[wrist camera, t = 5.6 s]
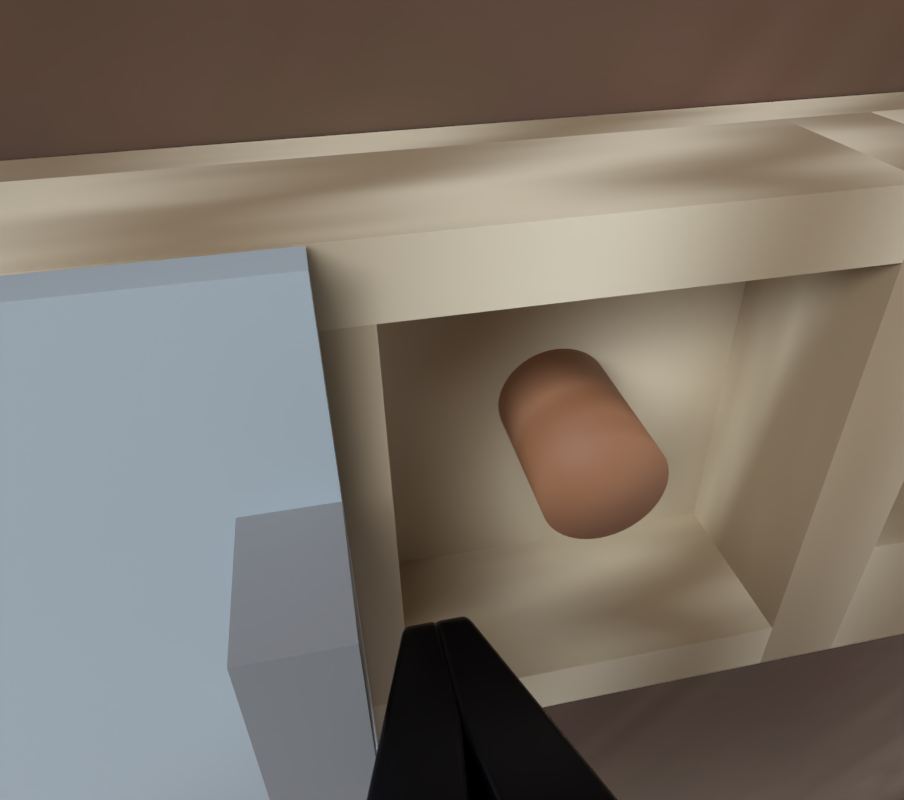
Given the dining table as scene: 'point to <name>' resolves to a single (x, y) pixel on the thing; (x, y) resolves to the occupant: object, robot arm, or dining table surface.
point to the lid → (174, 539)
